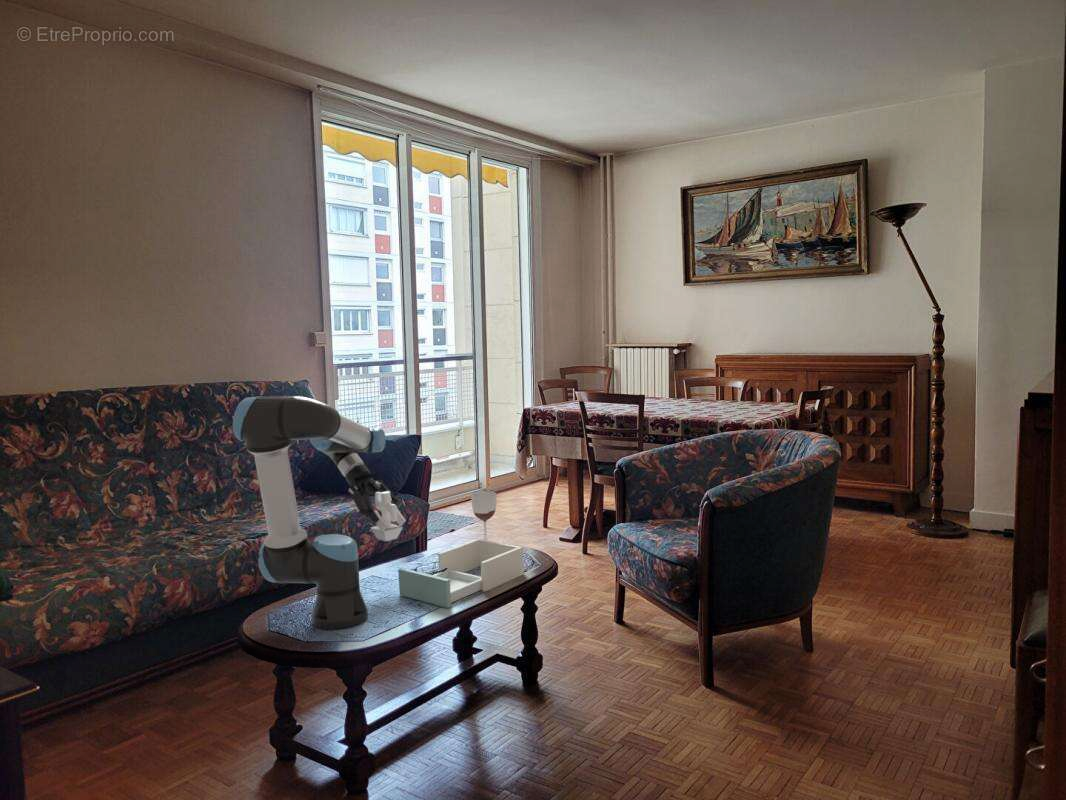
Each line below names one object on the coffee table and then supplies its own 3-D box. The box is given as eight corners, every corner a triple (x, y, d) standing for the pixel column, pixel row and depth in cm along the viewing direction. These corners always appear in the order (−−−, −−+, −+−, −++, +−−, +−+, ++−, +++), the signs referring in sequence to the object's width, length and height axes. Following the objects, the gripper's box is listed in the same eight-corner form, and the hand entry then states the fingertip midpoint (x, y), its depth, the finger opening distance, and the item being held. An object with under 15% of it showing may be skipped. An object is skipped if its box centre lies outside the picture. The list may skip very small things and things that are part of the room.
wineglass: (470, 559, 268) (468, 497, 266) (477, 551, 277) (474, 491, 275) (495, 559, 267) (493, 497, 264) (501, 551, 276) (498, 491, 274)
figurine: (386, 543, 237) (385, 495, 236) (368, 538, 244) (367, 491, 242) (405, 538, 243) (404, 491, 241) (387, 533, 249) (385, 487, 247)
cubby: (484, 591, 235) (483, 562, 234) (439, 580, 247) (438, 553, 246) (523, 574, 250) (522, 547, 249) (479, 564, 262) (478, 538, 261)
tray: (447, 607, 222) (446, 580, 221) (399, 594, 234) (398, 569, 233) (491, 588, 237) (490, 563, 236) (443, 577, 249) (442, 553, 248)
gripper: (372, 473, 258) (410, 526, 250) (324, 484, 241) (364, 541, 234) (383, 458, 255) (422, 512, 247) (335, 468, 238) (376, 525, 230)
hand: (393, 526), depth 240 cm, fingers closed on figurine, 7 cm apart
